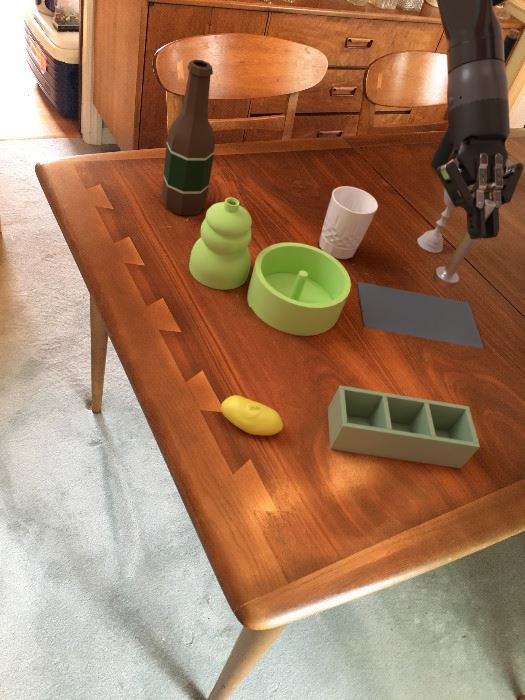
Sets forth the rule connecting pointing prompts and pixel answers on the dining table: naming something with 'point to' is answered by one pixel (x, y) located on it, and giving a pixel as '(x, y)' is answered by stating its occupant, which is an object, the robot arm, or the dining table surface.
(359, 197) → the white cup
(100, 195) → the dining table surface
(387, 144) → the dining table surface
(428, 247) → the chalice
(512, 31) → the wine bottle
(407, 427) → the caddy
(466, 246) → the metal rod stand
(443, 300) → the mat
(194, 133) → the beer bottle
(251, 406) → the yellow potato
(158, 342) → the dining table surface
